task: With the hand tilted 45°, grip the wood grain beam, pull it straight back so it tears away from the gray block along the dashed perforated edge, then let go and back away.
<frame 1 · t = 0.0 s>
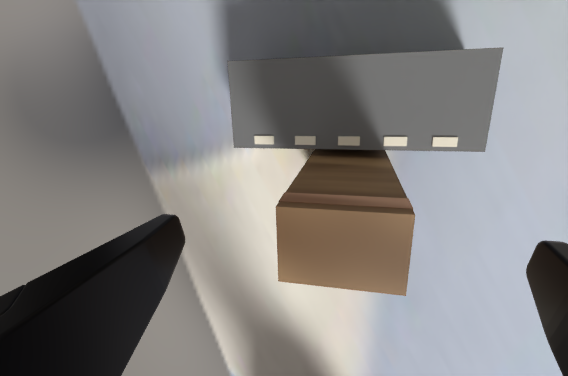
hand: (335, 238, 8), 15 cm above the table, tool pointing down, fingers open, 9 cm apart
wood grain beam: (346, 191, 17), point 7 cm above the table, slide at 0.0 cm
gray block: (351, 101, 21), on the table
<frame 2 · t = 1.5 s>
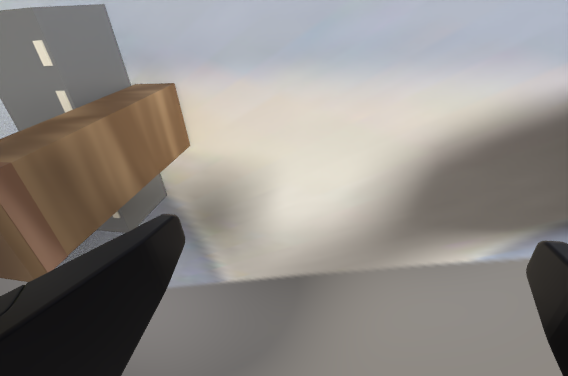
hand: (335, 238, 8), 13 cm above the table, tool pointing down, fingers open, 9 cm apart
wood grain beam: (99, 156, 16), point 7 cm above the table, slide at 0.0 cm
gray block: (111, 115, 23), on the table
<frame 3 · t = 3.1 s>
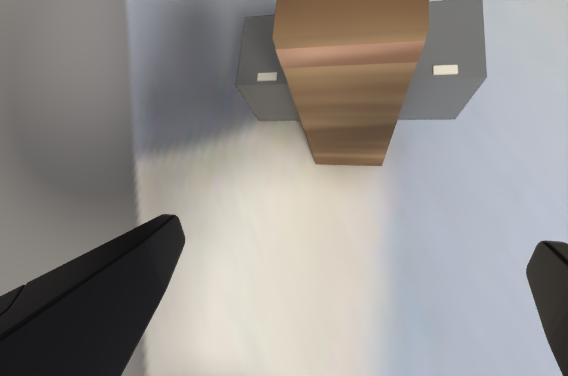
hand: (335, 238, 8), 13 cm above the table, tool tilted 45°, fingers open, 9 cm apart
wood grain beam: (348, 98, 15), point 7 cm above the table, slide at 0.0 cm
gray block: (351, 89, 23), on the table
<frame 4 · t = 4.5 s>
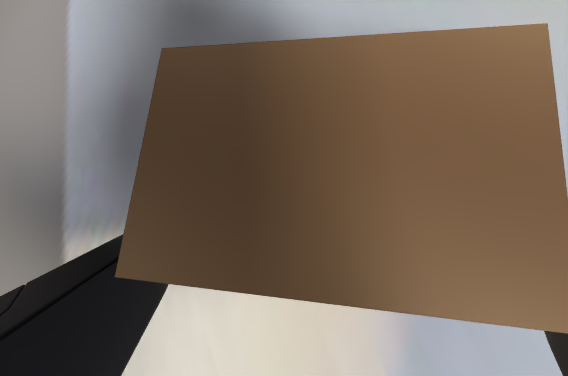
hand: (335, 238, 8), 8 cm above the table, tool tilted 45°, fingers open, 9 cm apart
wood grain beam: (338, 225, 9), point 7 cm above the table, slide at 0.0 cm
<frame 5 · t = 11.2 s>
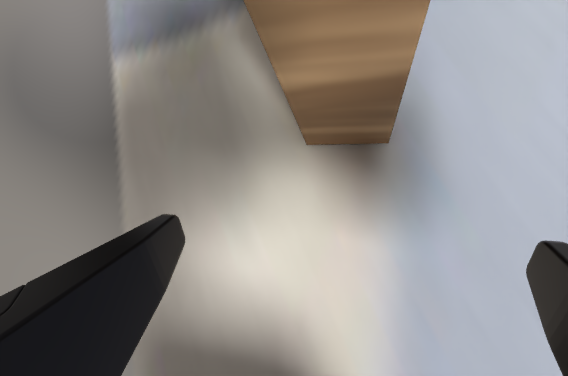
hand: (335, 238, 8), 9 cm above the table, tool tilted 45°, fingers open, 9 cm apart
wood grain beam: (342, 44, 11), point 7 cm above the table, slide at 7.0 cm
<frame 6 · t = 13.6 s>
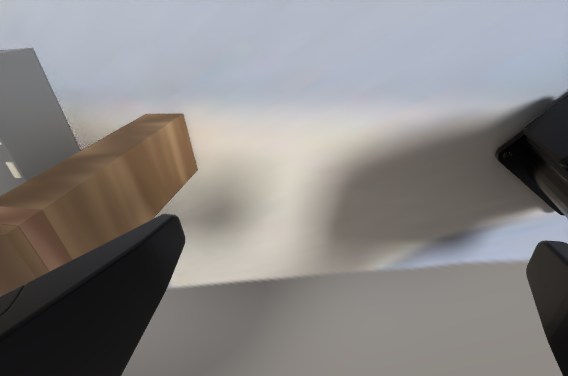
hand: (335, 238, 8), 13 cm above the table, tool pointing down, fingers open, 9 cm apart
wood grain beam: (115, 188, 18), point 7 cm above the table, slide at 7.0 cm
gray block: (51, 140, 26), on the table
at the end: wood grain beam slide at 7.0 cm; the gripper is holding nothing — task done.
